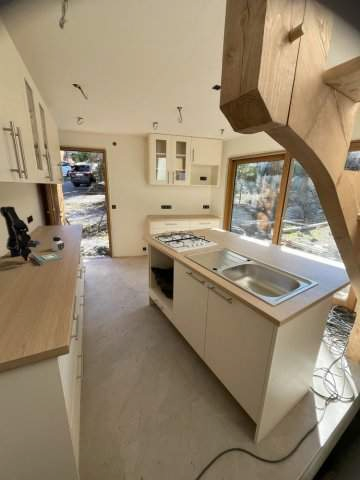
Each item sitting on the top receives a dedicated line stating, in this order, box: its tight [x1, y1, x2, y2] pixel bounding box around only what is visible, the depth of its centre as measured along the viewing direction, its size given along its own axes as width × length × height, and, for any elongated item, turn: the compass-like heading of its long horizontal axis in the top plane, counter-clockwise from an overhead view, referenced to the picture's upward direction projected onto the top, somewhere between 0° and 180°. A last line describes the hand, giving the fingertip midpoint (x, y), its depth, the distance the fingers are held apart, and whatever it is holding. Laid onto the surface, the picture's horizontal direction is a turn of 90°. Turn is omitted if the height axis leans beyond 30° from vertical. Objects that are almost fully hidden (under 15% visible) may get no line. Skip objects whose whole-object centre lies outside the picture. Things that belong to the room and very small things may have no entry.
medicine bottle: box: [50, 236, 65, 252], centre depth 184 cm, size 7×7×12 cm
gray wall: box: [30, 251, 44, 266], centre depth 158 cm, size 24×2×4 cm, turn 48°
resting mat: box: [37, 252, 63, 264], centre depth 166 cm, size 16×14×1 cm
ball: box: [20, 257, 30, 264], centre depth 154 cm, size 5×5×5 cm
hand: (24, 259), depth 154 cm, fingers open, 9 cm apart
